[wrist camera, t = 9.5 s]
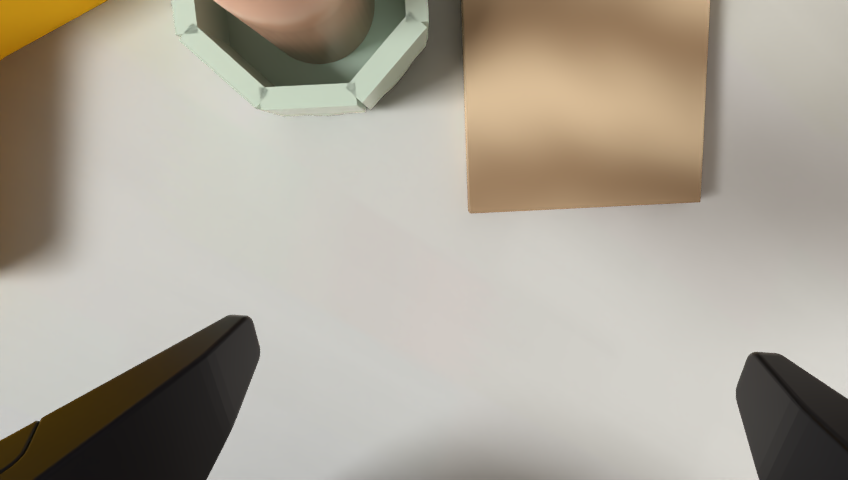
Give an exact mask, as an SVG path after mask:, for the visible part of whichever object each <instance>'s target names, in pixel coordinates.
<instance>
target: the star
mask: <svg viewBox="0 0 848 480" xmlns="http://www.w3.org/2000/svg"><path fill="white" fill-rule="evenodd" d="M106 1H107V0H0V61H1V60H2V59H3V58H4V57H6V56H8V55H9V54H11V53H13V52H15V51H17V50H18V49H20V48H22V47H24V46H26V45H28V44H29V43H31V42H33V41H35V40H37V39H38V38H40V37H42V36H44V35H46V34H48V33H49V32H51V31H53V30H55V29H57V28H58V27H60V26H62V25H64V24H66V23H67V22H69V21H71V20H73V19H75V18H77V17H78V16H80V15H82V14H84V13H86V12H87V11H89V10H91V9H93V8H95V7H97V6H98V5H100V4H102V3H104V2H106Z"/></svg>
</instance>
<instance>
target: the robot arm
mask: <svg viewBox="0 0 848 480" xmlns="http://www.w3.org/2000/svg"><path fill="white" fill-rule="evenodd" d="M259 357H260V346H259V342H258V339H257V335H256V331H255V327H254V324H253V321H252V319H251V318H250V317H248V316H243V315H228V316H226V317H224V318H222V319H221V320H219V321H217V322H215V323H213V324H212V325H210V326H208V327H206V328H204V329H202V330H201V331H199V332H197V333H195V334H193V335H192V336H190V337H188V338H186V339H184V340H182V341H181V342H179V343H177V344H175V345H173V346H172V347H170V348H168V349H166V350H164V351H162V352H161V353H159V354H157V355H155V356H153V357H152V358H150V359H148V360H146V361H144V362H143V363H141V364H139V365H137V366H135V367H133V368H132V369H130V370H128V371H126V372H124V373H123V374H121V375H119V376H117V377H115V378H113V379H112V380H110V381H108V382H106V383H104V384H103V385H101V386H99V387H97V388H95V389H93V390H92V391H90V392H88V393H86V394H84V395H83V396H81V397H79V398H77V399H75V400H74V401H72V402H70V403H68V404H66V405H64V406H63V407H61V408H59V409H57V410H55V411H54V412H52V413H50V414H48V415H46V416H44V417H43V418H42V419H41V420H40V421H35V422H33V423H32V424H30V425H28V426H26V427H24V428H23V429H21V430H19V431H17V432H15V433H14V434H12V435H10V436H8V437H6V438H4V439H2V440H0V480H206V479H207V477H208V475H209V473H210V472H211V470H212V468H213V466H214V464H215V462H216V460H217V458H218V456H219V454H220V452H221V450H222V448H223V446H224V444H225V442H226V440H227V438H228V436H229V434H230V432H231V430H232V427H233V425H234V423H235V420H236V418H237V415H238V413H239V410H240V408H241V405H242V402H243V400H244V397H245V395H246V392H247V389H248V387H249V384H250V382H251V379H252V376H253V374H254V371H255V369H256V366H257V363H258V361H259ZM736 400H737V404H738V408H739V411H740V415H741V418H742V422H743V425H744V429H745V432H746V436H747V439H748V443H749V446H750V450H751V453H752V457H753V460H754V464H755V467H756V471H757V474H758V477H759V480H848V399H847V398H845V397H844V396H842V395H841V394H839V393H838V392H836V391H835V390H833V389H832V388H830V387H829V386H827V385H826V384H824V383H823V382H821V381H820V380H818V379H817V378H815V377H814V376H812V375H811V374H809V373H808V372H806V371H805V370H803V369H802V368H800V367H799V366H797V365H796V364H795V363H793V362H792V361H790V360H789V359H787V358H786V357H784V356H782V355H780V354H777V353H765V352H753V353H751V354H750V355H749V356H748V358H747V360H746V362H745V365H744V368H743V371H742V373H741V376H740V379H739V381H738V384H737V387H736Z"/></svg>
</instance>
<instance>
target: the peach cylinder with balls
mask: <svg viewBox="0 0 848 480" xmlns="http://www.w3.org/2000/svg"><path fill="white" fill-rule="evenodd" d="M213 1H215V2H216V3H217V4H219V5H220V6H221V7H223V8H224V9H226V10H227V11H228V12H230V13H231V14H232V15H234V16H235V17H236V18H238V19H239V20H240V21H242V22H243V23H244V24H246V25H247V26H249V27H250V28H251V29H253V30H254V31H255V32H257V33H258V34H259V35H261V36H262V37H263V38H265V39H266V40H268V41H269V42H270V43H272V44H273V45H274V46H276V47H277V48H278V49H280V50H281V51H282V52H284V53H285V54H287V55H288V56H290V57H292V58H294V59H296V60H299V61H302V62H305V63H310V64H327V63H332V62H335V61H338V60H340V59H343V58H344V57H346V56H348V55H349V54H351V53H352V52H353V51H355V50H356V49H357V48H358V47H359V46H360V44H361V43H362V42H363V40H364V39H365V37H366V36H367V34H368V32H369V30H370V27H371V25H372V21H373V17H374V11H375V0H213Z"/></svg>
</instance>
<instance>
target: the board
mask: <svg viewBox="0 0 848 480" xmlns="http://www.w3.org/2000/svg"><path fill="white" fill-rule="evenodd" d="M461 13H462V42H463V72H464V101H465V131H466V160H467V190H468V211H469V212H470V213H488V212H508V211H529V210H549V209H569V208H590V207H610V206H630V205H651V204H671V203H691V202H700V199H701V178H702V157H703V137H704V116H705V95H706V75H707V54H708V33H709V13H710V0H461Z"/></svg>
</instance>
